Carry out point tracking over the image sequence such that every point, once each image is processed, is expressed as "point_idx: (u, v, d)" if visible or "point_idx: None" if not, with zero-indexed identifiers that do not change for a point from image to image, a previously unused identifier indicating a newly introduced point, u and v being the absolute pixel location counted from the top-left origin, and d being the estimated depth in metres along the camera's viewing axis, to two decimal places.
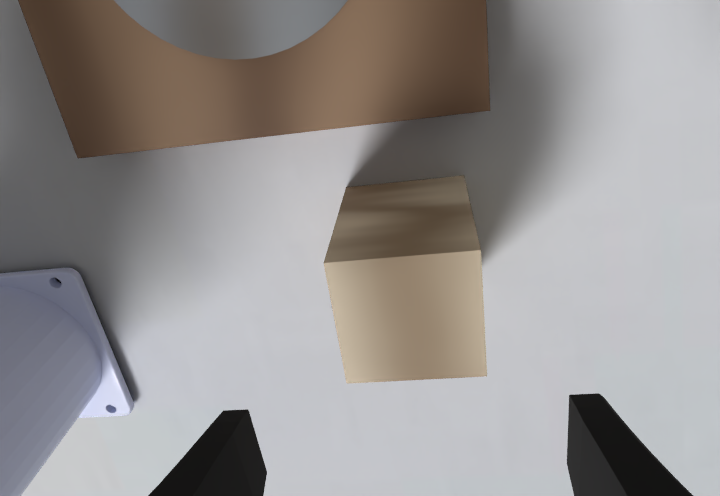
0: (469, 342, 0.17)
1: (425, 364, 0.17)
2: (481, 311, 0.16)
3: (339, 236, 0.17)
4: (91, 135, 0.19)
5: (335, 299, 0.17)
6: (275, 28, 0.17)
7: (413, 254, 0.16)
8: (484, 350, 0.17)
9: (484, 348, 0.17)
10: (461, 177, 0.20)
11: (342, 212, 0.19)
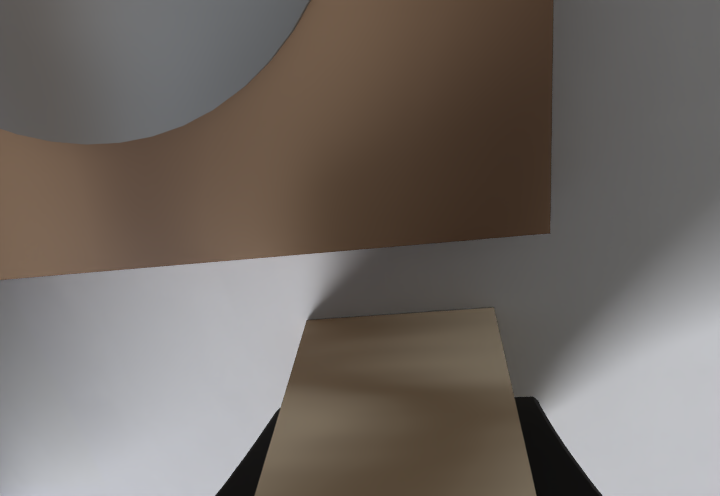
0: None
1: None
2: None
3: (278, 463, 0.10)
4: None
5: None
6: (153, 91, 0.09)
7: None
8: None
9: None
10: (490, 313, 0.13)
11: (292, 389, 0.11)
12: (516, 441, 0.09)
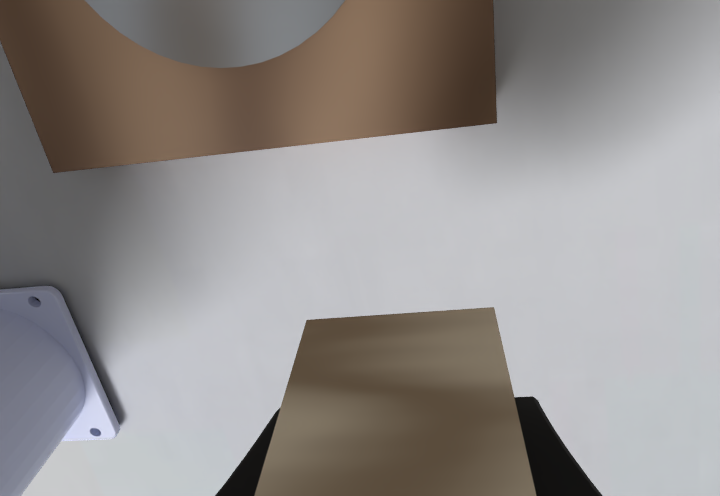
0: None
1: None
2: None
3: (278, 463, 0.10)
4: (67, 148, 0.18)
5: None
6: (263, 34, 0.15)
7: None
8: None
9: None
10: (490, 313, 0.13)
11: (292, 388, 0.11)
12: (516, 441, 0.09)
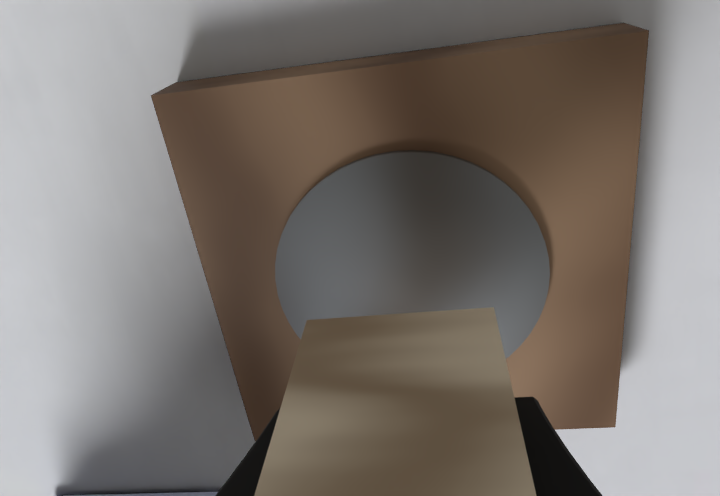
0: None
1: None
2: None
3: (278, 463, 0.10)
4: None
5: None
6: None
7: None
8: None
9: None
10: (490, 313, 0.13)
11: (292, 389, 0.11)
12: (516, 441, 0.09)
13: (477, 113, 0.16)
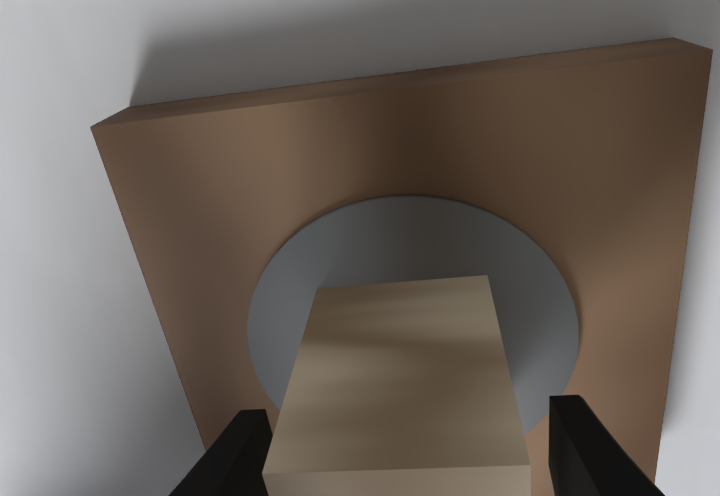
0: None
1: None
2: None
3: (295, 403, 0.11)
4: None
5: None
6: None
7: (413, 464, 0.09)
8: None
9: None
10: (484, 279, 0.14)
11: (305, 344, 0.13)
12: (504, 381, 0.11)
13: (493, 151, 0.13)
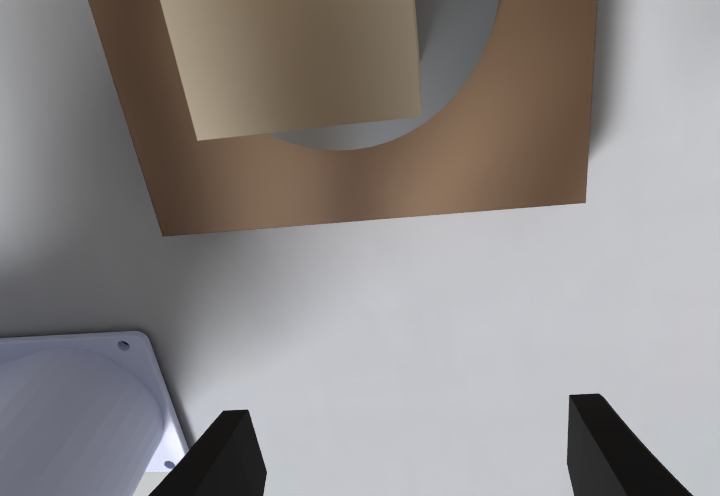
0: (389, 47, 0.10)
1: (319, 96, 0.10)
2: None
3: None
4: (178, 215, 0.19)
5: None
6: (376, 122, 0.17)
7: None
8: (415, 61, 0.10)
9: (415, 58, 0.10)
10: None
11: None
12: None
13: None
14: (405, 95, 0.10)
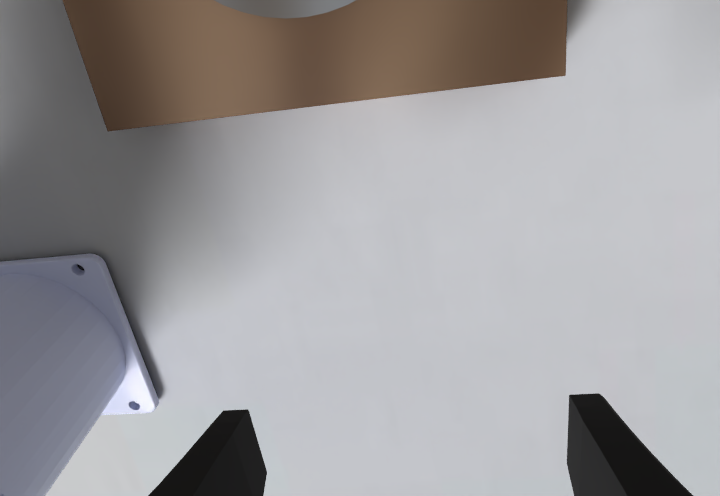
0: None
1: None
2: None
3: None
4: (123, 105, 0.17)
5: None
6: None
7: None
8: None
9: None
10: None
11: None
12: None
13: None
14: None
